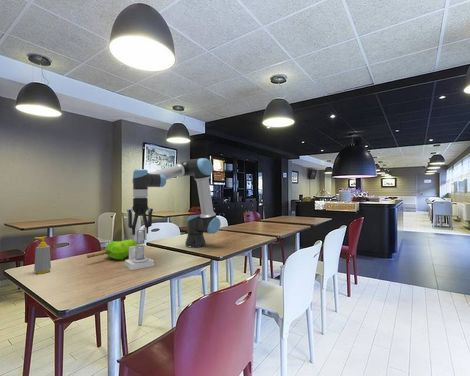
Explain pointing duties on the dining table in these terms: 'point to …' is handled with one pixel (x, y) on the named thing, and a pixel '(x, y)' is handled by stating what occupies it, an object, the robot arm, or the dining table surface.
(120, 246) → the decorative tree
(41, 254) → the soap bottle
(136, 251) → the spacer
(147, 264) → the light grey square stand
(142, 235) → the spacer
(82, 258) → the dining table surface
